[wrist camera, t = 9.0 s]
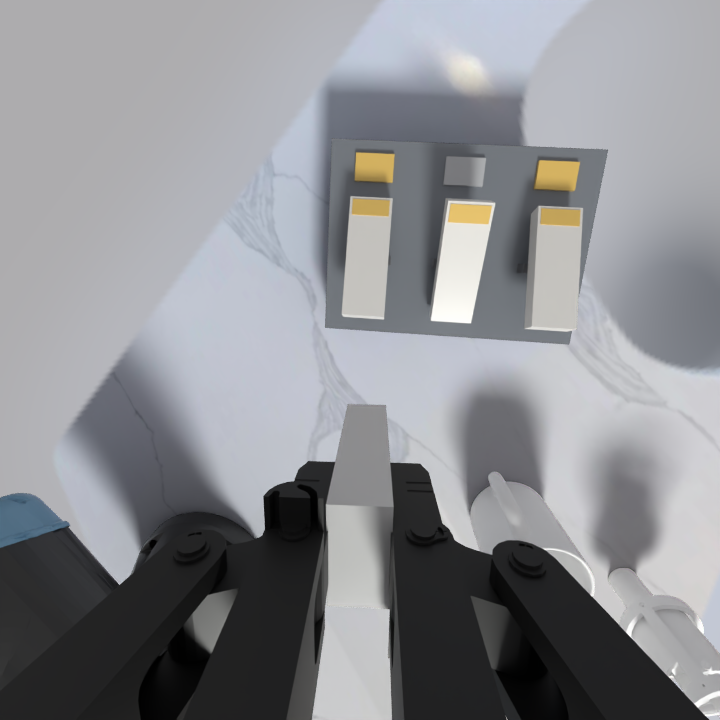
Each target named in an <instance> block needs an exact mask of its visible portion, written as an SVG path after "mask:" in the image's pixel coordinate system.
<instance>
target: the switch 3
mask: <svg viewBox="0 0 720 720" xmlns="http://www.w3.org/2000/svg"><path fill="white" fill-rule="evenodd" d="M582 219H583V208H574V207H554V206H538V207H537V208H536V209H535V210H534V211H533V212H532V213H531V220H530V238H529V255H528V273H527V290H526V307H525V325H524V329H534V330H549V331H564V332H568V331H572V330H576V329H577V315H578V296H579V277H580V258H581V239H582Z"/></svg>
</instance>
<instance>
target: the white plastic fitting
mask: <svg viewBox="0 0 720 720" xmlns="http://www.w3.org/2000/svg"><path fill="white" fill-rule="evenodd" d="M608 582H609V584H610V586H611V587H612V589H613V590H614V591H615V593H616V594H617V596H618V597H619V598H620V600H621V601H622V603H623V604H624V605H625V607H626V608H627V609H626V610H625V611H624V613H623V614H622V616H621V619H620V623H619V626H620V627H621V628H622V629H623V630H624V631H625V632H626V633H627V634H628V635H629V636H630V637H632V639H633V640H634V641H635V642H636V643H637V644H638V646H639V647H640V648H641V649H642V650H643V651H644V652H645V653H646V654H647V655H648V656H649V657H650V658H651V659H652V660H653V661H654V662H655V663H656V664H657V665H658V667H659V668H660V669H661V670H662V671H663V672H664V673H665V674H666V675H667V676H668V677H673V678H674V679H675V680H676V681H677V683H678V684H679V686H680V687H681V689H682V690H683V692H684V694H685V695H686V696H687V697H688V698H689V699H690V700H691V701H692V702H693V703H694V704H695V705H696V706H697V707H698V709H699V710H700V711H701V712H702V713H703V714H704V715H705V716H714V715H718V716H719V717H720V653H719V652H718V651H717V650H716V649H715V648H714V647H713V646H712V644H711V643H710V642H709V641H708V640H707V638H706V637H705V636H704V635H703V633H704V628H703V624H702V621H701V620H700V618H699V617H698V616H697V614H696V613H695V612H694V611H693V610H692V609H691V608H690V607H689V606H688V605H687V604H686V603H685V602H684V601H682V600H680V599H678V598H676V597H673V596H668V595H654V596H653V594H652V593H651V592H650V591H649V590H648V588H647V587H646V586H645V585H644V584H643V582H642V581H641V580H640V579H639V577H638V576H637V575H636V574H635V572H634V571H633V570H631V569H629V568H618V569H616V570H614V571H613V572H611V574H610V575H609V577H608ZM684 612H685V613H687V614H688V616H689V618H688V616H687V615H686V614H685V613H684Z"/></svg>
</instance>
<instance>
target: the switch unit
mask: <svg viewBox="0 0 720 720" xmlns="http://www.w3.org/2000/svg"><path fill="white" fill-rule="evenodd" d="M607 153H608V150H603V149H579V148H578V149H577V148H554V147H530V146H505V145H480V144H456V143H431V142H407V141H382V140H358V139H333V138H332V145H331V174H330V203H329V231H328V260H327V289H326V318H325V328H336V329H350V330H365V331H380V332H394V333H409V334H424V335H438V336H453V337H468V338H482V339H497V340H511V341H526V342H541V343H555V344H569V343H570V338H571V333H572V331H568V332H564V331H549V330H534V329H524V325H525V307H526V290H527V273H528V255H529V238H530V220H531V213H532V212H533V211H534V210H535V209H536V208H537V207H538V206H554V207H574V208H583V219H582V239H581V258H580V277H579V293H580V288H581V283H582V278H583V273H584V268H585V263H586V258H587V253H588V248H589V243H590V238H591V233H592V228H593V222H594V217H595V213H596V208H597V203H598V198H599V193H600V188H601V182H602V177H603V173H604V167H605V163H606V158H607ZM351 196H355V197H376V198H393V202H392V215H391V229H390V243H389V257H388V271H387V284H386V298H385V312H384V319H368V318H353V317H343V315H342V303H343V290H344V277H345V263H346V250H347V237H348V223H349V210H350V197H351ZM446 198H452V199H473V200H491V201H493V202H495V208H494V213H493V218H492V222H491V227H490V232H489V237H488V242H487V247H486V252H485V257H484V262H483V267H482V271H481V276H480V281H479V286H478V291H477V296H476V301H475V306H474V311H473V316H472V320H471V323H457V322H442V321H431V319H430V307H431V300H432V293H433V286H434V278H435V271H436V264H437V257H438V250H439V243H440V236H441V229H442V222H443V215H444V207H445V200H446ZM578 298H579V296H578Z"/></svg>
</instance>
